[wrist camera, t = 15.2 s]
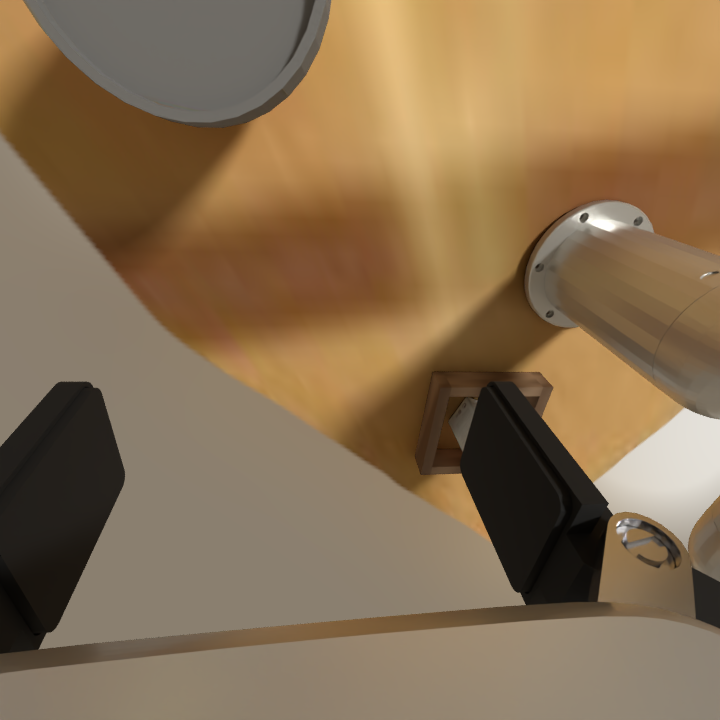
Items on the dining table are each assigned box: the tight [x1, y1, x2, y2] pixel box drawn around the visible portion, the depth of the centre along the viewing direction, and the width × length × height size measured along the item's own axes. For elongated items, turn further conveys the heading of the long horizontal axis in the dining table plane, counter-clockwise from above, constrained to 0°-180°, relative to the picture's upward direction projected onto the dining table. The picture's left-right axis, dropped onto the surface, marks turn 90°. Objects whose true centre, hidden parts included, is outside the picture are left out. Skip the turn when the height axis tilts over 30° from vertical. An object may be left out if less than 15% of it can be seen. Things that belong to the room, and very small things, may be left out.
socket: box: [415, 372, 553, 475], centre depth 48 cm, size 13×13×3 cm
